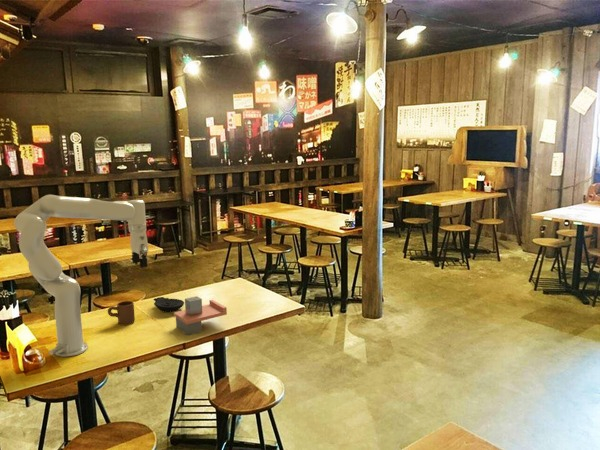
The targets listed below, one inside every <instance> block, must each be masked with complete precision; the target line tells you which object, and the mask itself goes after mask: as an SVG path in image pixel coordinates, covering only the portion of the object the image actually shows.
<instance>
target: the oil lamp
mask: <svg viewBox="0 0 600 450" xmlns="http://www.w3.org/2000/svg"><path fill="white" fill-rule="evenodd" d="M153 301H154V302H153V305H154V306H155V307H156V309H158V310H159V311H160V312H162V313H169V314H171V313H174V312H178V310H179V311H180V309H181V308H182V307H183V306H184V305H185V301H184V300H182V299H178V298H169V297H163V296H160V297H156V298H154V299H153Z"/></svg>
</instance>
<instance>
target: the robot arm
mask: <svg viewBox="0 0 600 450" xmlns="http://www.w3.org/2000/svg"><path fill="white" fill-rule="evenodd" d="M51 217H53V218H62V219H63V218H64V219H66V218H67V219H69V218H70V219H84V220H85V219H87V220H89V219H90V220H109V221H127V224H128V225H127V228H128V232H129V233H130V234H129V235H130V237H129V239H130V249H131V259H132V263H133V264H136V263H137V264H138V263H139V267H140V268H147V267H148V253H149V244H148V237H147V236H148V235H147V218H146V204H145V201H144V200H142V199H132V200H131V199H130V200H127V201H126V200H115V201H107V200H100V199H96V198H90V197H76V196H66V195H65V196H63V195H55V194H45V195H44V196H42V197H40V198H39V199H38V200H36V201H35V202H34V203H32V204H31V205H29V206H28V207H26V209H24V210H22V211H21V212H20V213H19V214H18V215H17V216H16V217H15V219H14V222H13V223H14V224H13V225H14V227H15V230H17V232H19V233H20V234H19V239H18V247H19V250H20V253H21V254H22V256H23V257H24V258H25V259H26V261H27V262H28V270H29V273H31V275H32V276H33V278H34V279H35V280H36V281H37V282H38V283H39V285H40V286H41V287H42V289H44V290H45V291H46V292H47V293H48V294H50V295H51V296H53V297H54V300H55V301H54V316H55V327H56V337H57V343H56V344H55V347H54V348H53V349H50V350H49V351H48V353H49V355H50V356H53V355H55V356H57V357H62V358H63V357H64V358H66V357H74V356H78V355H80V354H82V353H84V352H86V351H87V350H88V348H89V347H88V346H89V345H88V344H87V342H84V337H83V336H84V335H83V326H82V324H83V323H82V314H81V313H82V312H81V287H80V283H79V282H78V281H77V280H76V279H75V278H73V277H71V276H69V275H66V274H65V273H64V272H63V266H62V264H61V262H60V261H59V260H58V258H56V256H55V255H54V254H53V253H52V252H51V250H50V249H49V248H48V247H47V245H46V243H45V241H44V237H45V233H46V231H47V228H48V225H47V222H46V221H47V220H49V219H50V218H51Z"/></svg>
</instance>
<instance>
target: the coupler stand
mask: <svg viewBox="0 0 600 450" xmlns="http://www.w3.org/2000/svg"><path fill="white" fill-rule="evenodd" d="M227 309H228V308H227V306H224V305H223V304H221V303H219V301H216V300H214V299H210V300H209V304H205V305H202V314H198V315H194V316H189V315H187V314H186V311H185V309H182V310H179V311H178V310H177V311H175V312H173V316H174V317H175V326H176V328H177V329H178V330H179V331H181V332H182V333H183V334H185V335H186V336H190V335H194V334H197V333H201V332H202V331H203V330H202V321H206V320H210V319H214V318H219V317H223V316H226V315H228V314H227V313H228V312H227Z"/></svg>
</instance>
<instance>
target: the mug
mask: <svg viewBox="0 0 600 450" xmlns="http://www.w3.org/2000/svg"><path fill="white" fill-rule="evenodd" d="M113 310H114V311H116V312H112V311H113ZM107 314H108V316H110V317H112V318H115V317H116V318H117V323H118V324H119V325H121V326H122V325H124V326H125V325H131V324H133V323H135V320H136V319H135V318H136V317H135V304H134V302H133V301H131V300H126V301H120V302H118V303H117V304H116V306H114V305H113V306H110V307H109V308H107Z"/></svg>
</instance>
